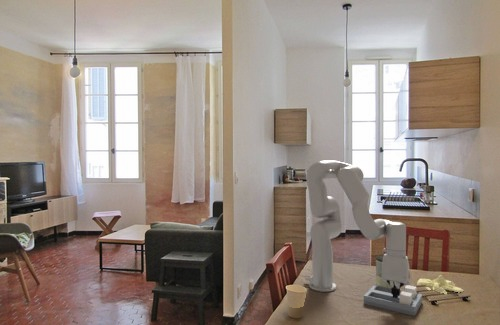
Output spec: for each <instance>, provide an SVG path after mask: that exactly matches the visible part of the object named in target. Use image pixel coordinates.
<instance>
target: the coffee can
mask: <svg viewBox="0 0 500 325" xmlns="http://www.w3.org/2000/svg"><path fill="white" fill-rule="evenodd" d="M384 254H385V253H384ZM384 254H377V255H376V256H375V285H378V286H383V287H388V288H391V287H390V285H389V284H388V282H386V281H383V280H382V263H383V257H384ZM395 286H397V282H395Z"/></svg>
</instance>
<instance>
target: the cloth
mask: <svg viewBox="0 0 500 325" xmlns="http://www.w3.org/2000/svg"><path fill="white" fill-rule="evenodd" d="M416 284H417V286H425V287H424V288H425V289H426V290H428V291H430V290H431V291H432V290H433V291H434V290H435V291H434V292H438V293H439V292H440V293H439V294H442V293H444V295H448V294H447V293H448V292H447V291H450V292H452V291H454V292H453V293H455V292H458V293H457V294H461V293H463V291H464V289H462V288H461V287H457V286H455V285H456V284H455V282H453V281H451V280H448V279H445V278H444V277H443V275H441V274H440V275H437V277H436V278H435V279H432V280H431V279H429V278H419V279H418V280H417V282H416ZM430 287H432V289H431V288H430ZM460 292H461V293H460ZM464 292H465V291H464Z"/></svg>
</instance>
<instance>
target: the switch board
mask: <svg viewBox="0 0 500 325" xmlns="http://www.w3.org/2000/svg"><path fill="white" fill-rule="evenodd" d="M402 291H403V290H402V289H400V293H401V292H402ZM399 298H400V296H398V298H393V295H392V294H391V288H388V287H383V286H378V285H376V284H373V285H372V286H371V288H370V289H368V291H366V293H365V294H364V295H363V304H364V305H368V306H372V307H374V308H375V307H376V308H381V309H384V310H389V311H393V312H397V313H402V314H406V315H410V316H413V317H415V316H416V315H417V313H418V311H419V309H420V307H421V306H422V304H423V294H421V293H418V292H416V298H412V305H411V306H410V305H406V304H401V303H399Z"/></svg>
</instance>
